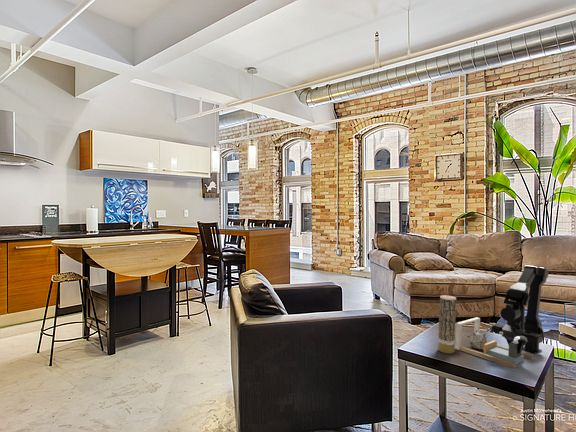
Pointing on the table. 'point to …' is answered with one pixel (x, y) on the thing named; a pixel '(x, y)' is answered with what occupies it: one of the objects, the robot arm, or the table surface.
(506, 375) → the table surface
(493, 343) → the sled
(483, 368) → the table surface
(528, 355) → the rails
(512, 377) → the table surface
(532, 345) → the robot arm
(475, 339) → the game die
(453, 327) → the bark log
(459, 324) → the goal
